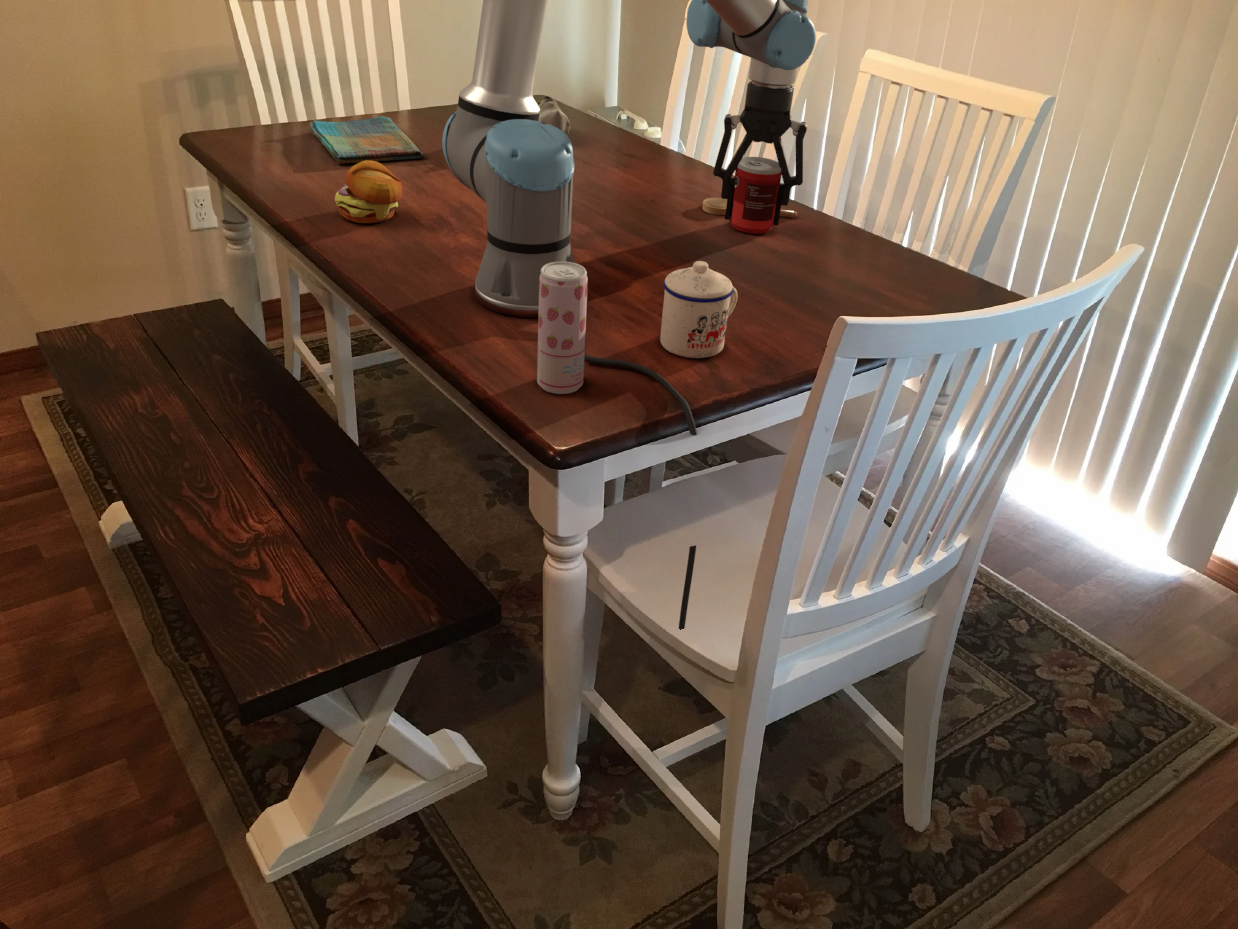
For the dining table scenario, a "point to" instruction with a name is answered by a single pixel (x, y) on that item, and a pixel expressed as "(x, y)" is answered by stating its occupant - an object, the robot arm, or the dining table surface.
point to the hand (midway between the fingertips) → (751, 219)
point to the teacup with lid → (696, 311)
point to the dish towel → (365, 140)
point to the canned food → (755, 195)
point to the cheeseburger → (368, 193)
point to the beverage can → (561, 327)
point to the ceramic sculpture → (553, 115)
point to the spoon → (719, 205)
